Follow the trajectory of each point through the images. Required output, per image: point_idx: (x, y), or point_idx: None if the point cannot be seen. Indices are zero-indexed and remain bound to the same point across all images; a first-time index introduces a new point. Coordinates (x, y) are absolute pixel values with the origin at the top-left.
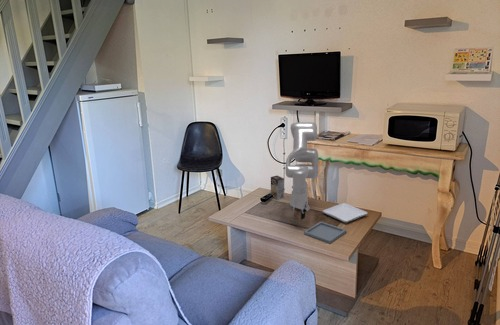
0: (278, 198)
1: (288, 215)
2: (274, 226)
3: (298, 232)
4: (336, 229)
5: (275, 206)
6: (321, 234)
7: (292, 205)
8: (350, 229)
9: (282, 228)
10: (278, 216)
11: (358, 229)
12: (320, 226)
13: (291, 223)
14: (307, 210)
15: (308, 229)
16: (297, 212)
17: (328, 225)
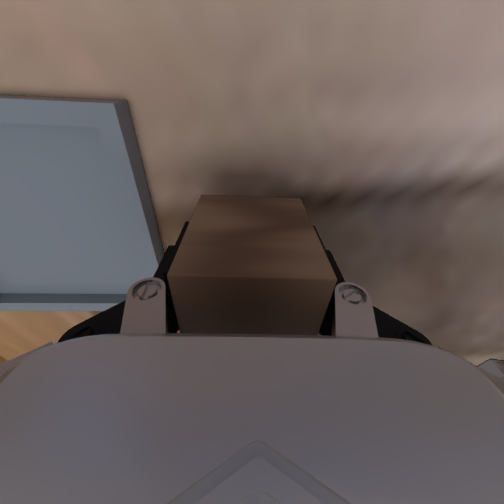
0: (493, 368)
1: (394, 283)
2: (474, 56)
3: (192, 104)
4: (48, 293)
5: (498, 319)
6: (20, 187)
7: (415, 371)
8: (29, 325)
9: (373, 73)
10: (461, 243)
11: (12, 340)
12: (140, 275)
13: (332, 211)
14: (18, 359)
15: (126, 177)
16: (236, 257)
17: (102, 300)
